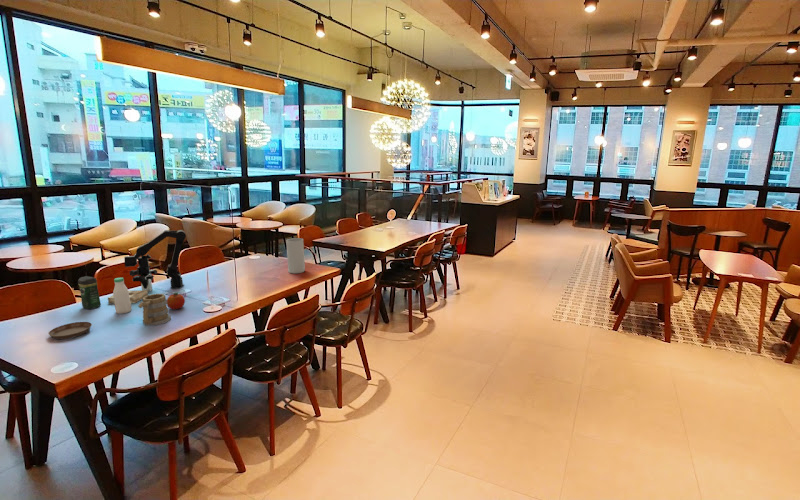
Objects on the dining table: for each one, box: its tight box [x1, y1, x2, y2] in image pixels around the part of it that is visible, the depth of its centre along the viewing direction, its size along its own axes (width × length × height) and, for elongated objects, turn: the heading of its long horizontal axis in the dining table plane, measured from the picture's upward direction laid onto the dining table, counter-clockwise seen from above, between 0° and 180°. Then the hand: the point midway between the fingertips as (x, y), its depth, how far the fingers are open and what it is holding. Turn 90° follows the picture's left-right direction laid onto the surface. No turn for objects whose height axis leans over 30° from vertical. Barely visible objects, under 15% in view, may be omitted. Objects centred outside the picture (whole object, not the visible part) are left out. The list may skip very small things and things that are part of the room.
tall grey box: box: [140, 279, 153, 293], centre depth 284 cm, size 5×3×8 cm, turn 90°
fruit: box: [166, 292, 186, 310], centre depth 252 cm, size 10×10×10 cm
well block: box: [107, 289, 149, 304], centre depth 268 cm, size 16×14×4 cm
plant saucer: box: [48, 321, 93, 340], centre depth 218 cm, size 18×18×3 cm
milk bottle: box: [112, 277, 132, 315], centre depth 246 cm, size 8×8×20 cm
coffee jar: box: [77, 275, 101, 310], centre depth 254 cm, size 10×8×19 cm
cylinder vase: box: [285, 237, 306, 274], centre depth 326 cm, size 12×12×25 cm
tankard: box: [137, 293, 172, 326], centre depth 229 cm, size 20×13×15 cm, turn 178°
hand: (147, 287), depth 285 cm, fingers open, 3 cm apart
